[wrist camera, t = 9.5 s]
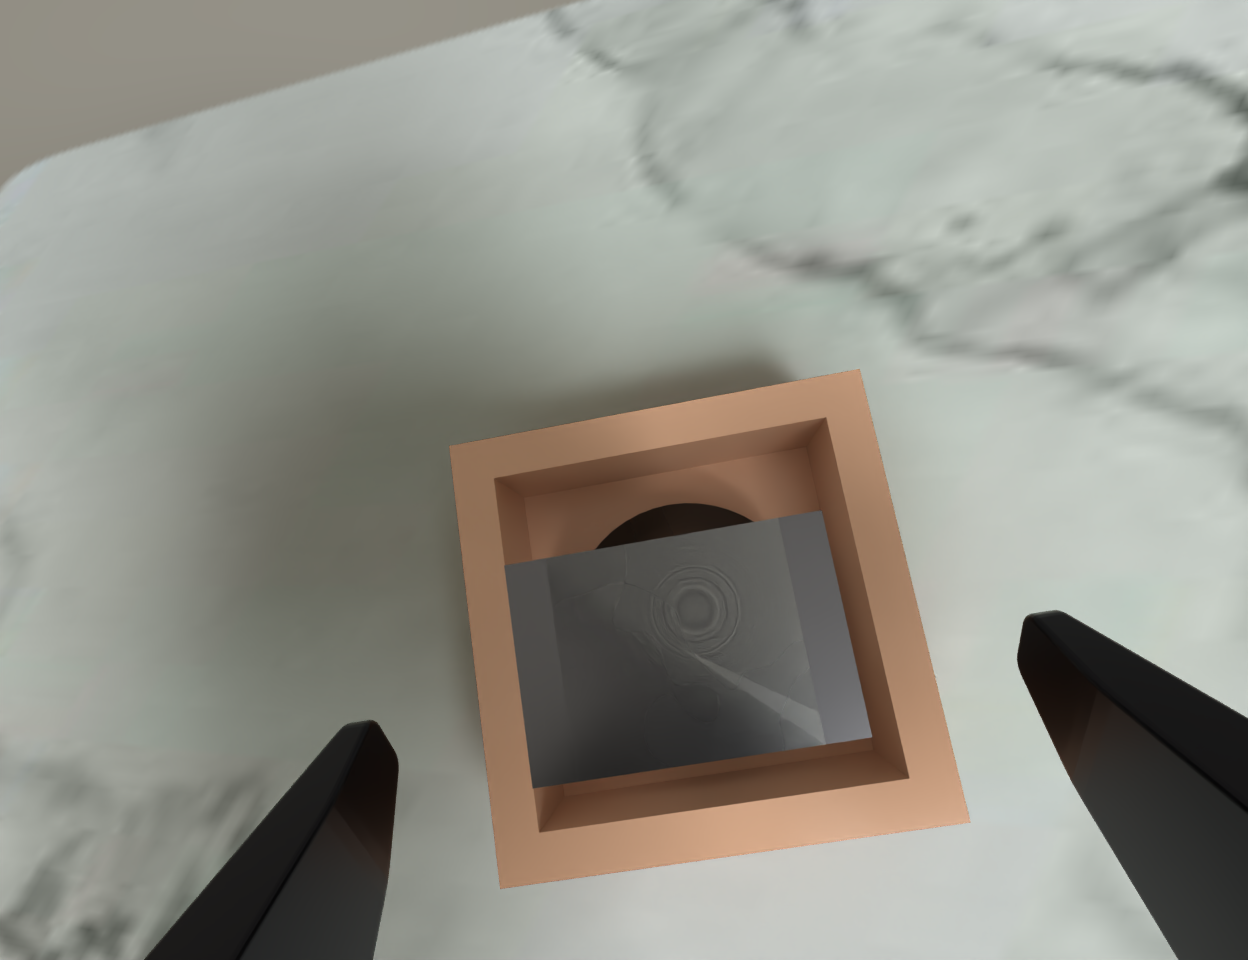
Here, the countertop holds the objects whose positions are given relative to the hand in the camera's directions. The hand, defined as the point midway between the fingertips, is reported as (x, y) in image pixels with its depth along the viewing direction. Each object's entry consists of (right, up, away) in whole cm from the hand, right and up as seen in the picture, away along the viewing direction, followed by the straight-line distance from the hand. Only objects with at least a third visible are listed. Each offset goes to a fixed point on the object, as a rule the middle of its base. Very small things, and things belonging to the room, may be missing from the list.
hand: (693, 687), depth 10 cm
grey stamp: (+1, -1, +9) cm, 9 cm away
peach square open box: (+1, -1, +10) cm, 10 cm away
